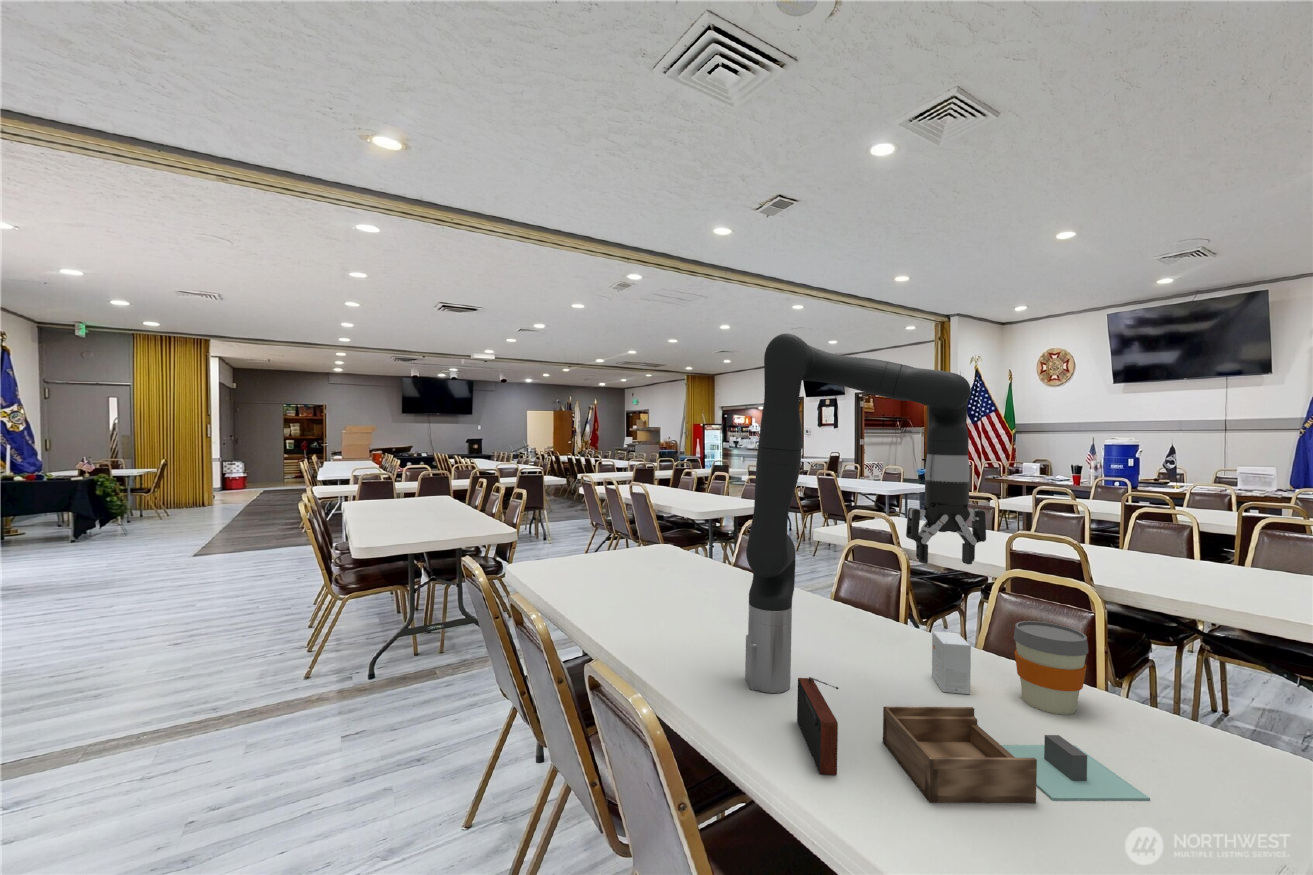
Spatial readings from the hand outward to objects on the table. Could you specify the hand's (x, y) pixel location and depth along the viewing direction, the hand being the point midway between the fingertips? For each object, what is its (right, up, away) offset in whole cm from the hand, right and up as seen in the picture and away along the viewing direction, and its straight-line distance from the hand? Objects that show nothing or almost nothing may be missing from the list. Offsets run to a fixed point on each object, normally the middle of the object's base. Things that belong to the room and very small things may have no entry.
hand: (945, 563), depth 106 cm
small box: (+9, -31, +15) cm, 35 cm away
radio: (-28, -30, -11) cm, 42 cm away
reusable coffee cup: (+25, -31, +8) cm, 41 cm away
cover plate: (+11, -31, -16) cm, 37 cm away
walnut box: (-7, -30, -16) cm, 35 cm away
